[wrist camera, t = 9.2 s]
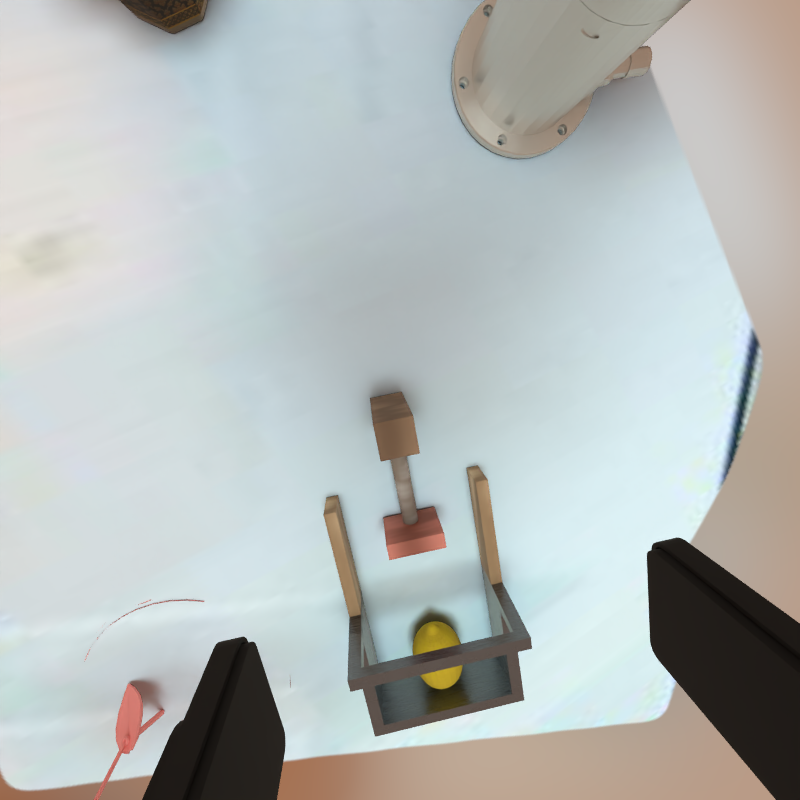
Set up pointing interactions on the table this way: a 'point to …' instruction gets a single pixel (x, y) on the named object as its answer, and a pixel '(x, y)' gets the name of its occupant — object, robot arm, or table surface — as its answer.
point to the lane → (483, 530)
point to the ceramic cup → (168, 12)
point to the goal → (419, 702)
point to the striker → (403, 480)
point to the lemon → (434, 639)
